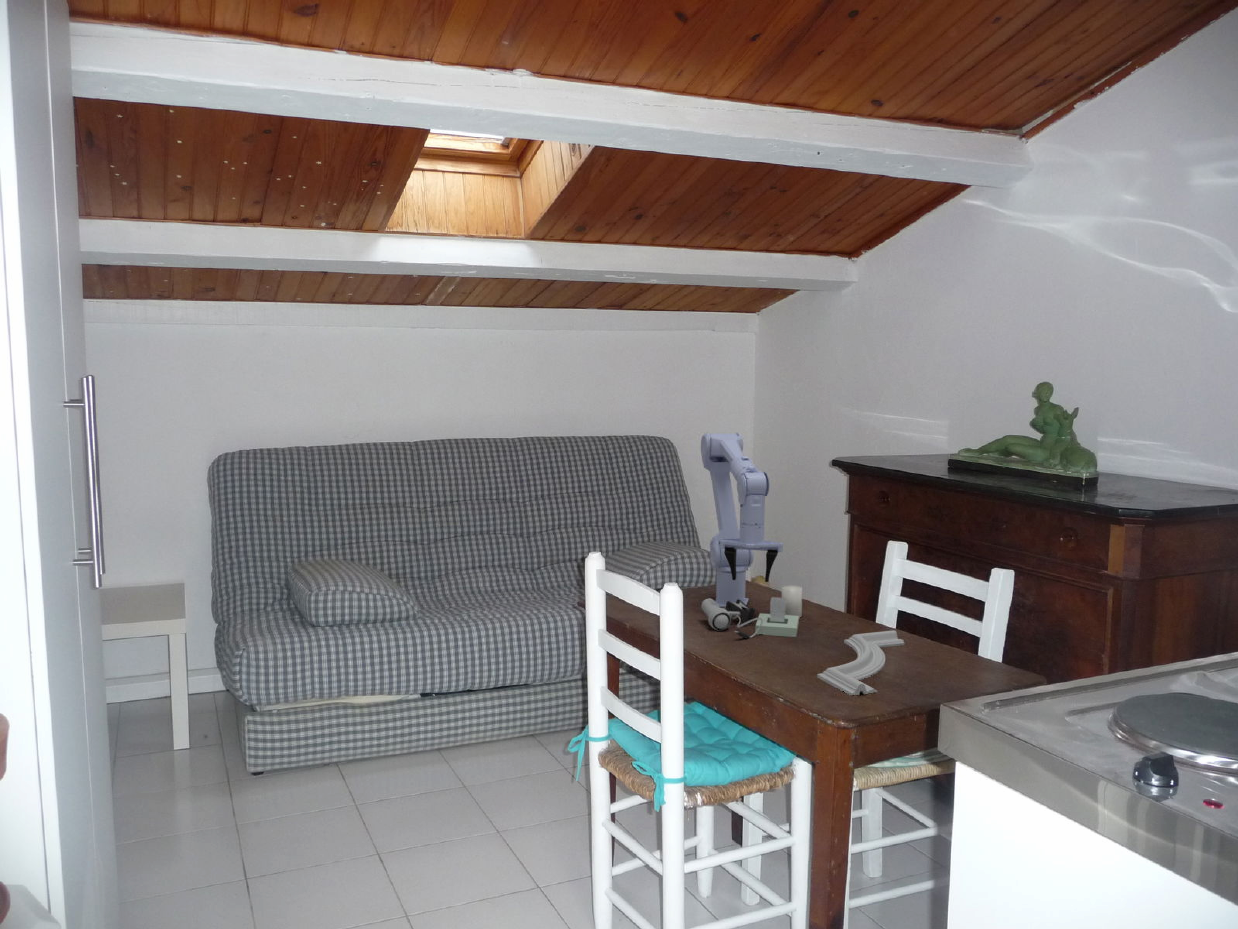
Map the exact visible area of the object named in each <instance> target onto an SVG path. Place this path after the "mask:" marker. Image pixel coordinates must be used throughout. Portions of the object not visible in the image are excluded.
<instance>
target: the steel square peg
mask: <svg viewBox="0 0 1238 929" xmlns="http://www.w3.org/2000/svg"><path fill="white" fill-rule="evenodd" d="M769 605H770V606H769V610H770V611H769V614H770V623H781V624H785V605H786V598H782V597H775V596H774V597H773V596H771V599H770V604H769Z"/></svg>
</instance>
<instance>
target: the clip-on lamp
mask: <svg viewBox="0 0 1238 929" xmlns="http://www.w3.org/2000/svg"><path fill="white" fill-rule="evenodd" d="M700 607H701V610H702V611H703V613H704V614H705V615H706V616H707V617H708V618H707V622H708V624H709V625H710V627H711V628H712V629H714V631H723V630H726V629H727V628H728V627H729V626H730V625H731V620H732V619H733V620H734V619H735V620H736V619H737V620H739V622H738V623H737V625H736V628H737V630H733V632H734V633H735V634H736V635H738V636H739V637H742V638H743V639H747V640H748V639H749V640H750V639H751V638H753V637H755V636H756V635H757V634H756V633H757V632H758V631H759V629H760V627H761V625H762V623H763V619H762V618H758V617H755V614H756V608H755V607H754V606H752V607H749V606H748V605H745V604H744V603H743V602H742V601H741V600H739V599H738V600H737V601H736V603H733V602H730V601H727V603H726V607H719V606H718V605H717V603H716V602H715V600H714V599H712V598H710V597H709V598H706V599H704V600H702V602H701V606H700ZM758 619H761V624H760V626H759V628H758V629H757V631H756V630H755V631H756V632H754V633H753V634H752V635H749V634H746V633H745V632H743V631H740V630H739V629H741V627H747V625H750V624H752V625H753V622H754V621H757V620H758ZM748 623H749V624H748ZM718 629H719V630H718Z"/></svg>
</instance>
